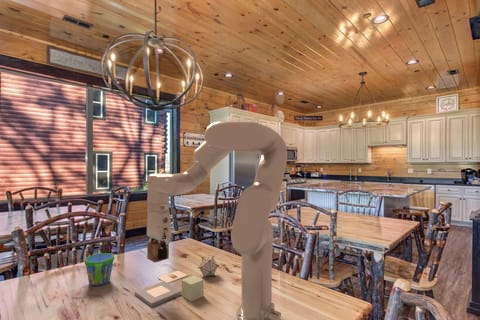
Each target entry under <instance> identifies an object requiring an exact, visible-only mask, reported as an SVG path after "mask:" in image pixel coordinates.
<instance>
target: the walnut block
mask: <svg viewBox="0 0 480 320" xmlns="http://www.w3.org/2000/svg"><path fill="white" fill-rule="evenodd" d="M161 242H162V244H163V242H164V241H161ZM158 249H160V248H159V242H158V240H155V241H151V242H149V241H148V242H147V248H146V250H147V251H146V252H147V255H146V256H147V257H146V258H147V259H148V260H149V261H151V262H153V263H154V264H155V263H158V262H162V261H165V260H170V259H169V257H170V256H169V255H170V254H169V253H170V252H169V251H170V250H169V249H170V244H169V245H168V247H167V258H166V259H162V260H158Z"/></svg>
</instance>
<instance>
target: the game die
mask: <svg viewBox="0 0 480 320" xmlns="http://www.w3.org/2000/svg"><path fill="white" fill-rule="evenodd" d="M214 257H215V255H212V256H210V257H203V256H201V259H202V260H201V262H200V264H199V266H198V267H197V269H199V271H200V272H201V274H202V275H203V276H202V279H204V278H205V277H207V276H213V277H216V272H217V269H218V267H220V264H218V263H217V262H216V260H215V258H214Z"/></svg>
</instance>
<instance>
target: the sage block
mask: <svg viewBox="0 0 480 320" xmlns="http://www.w3.org/2000/svg"><path fill="white" fill-rule="evenodd" d="M181 291H182V294H181V297H183V298H184V299H186V300H188V301H189V302H194V301H196V300H198V299H201V298H202V297H204V292H205V291H204V278H201V277H199V276H196V275H194V274H193V275H191V276H187V277H185V278H184V279H183V278H182V280H181Z"/></svg>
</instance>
